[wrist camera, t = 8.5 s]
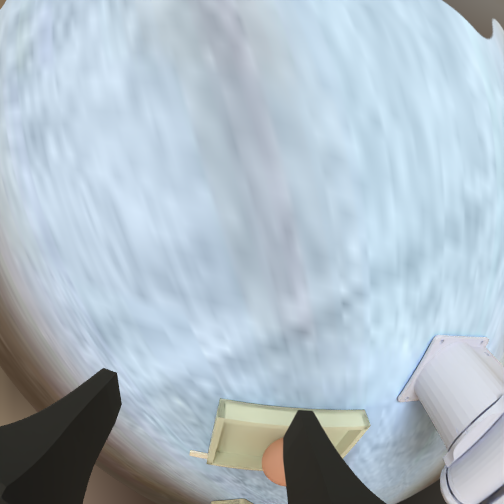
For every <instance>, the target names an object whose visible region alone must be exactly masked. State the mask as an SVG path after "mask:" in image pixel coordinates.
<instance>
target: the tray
mask: <svg viewBox="0 0 504 504" xmlns="http://www.w3.org/2000/svg"><path fill="white" fill-rule="evenodd" d="M298 410H309V411H313V412H314V414H315V415H316V417H317V419H318V421H319V422H320V424H321V426H322V428H323V429H324V431H325V433H326V434H327V436H328V438H329V439H330V441H331V442H332V444H333V445H334V447H335V448H336V450H337V451H338V453H339V454H340V456H341V457H342V459H343V458H344V457H345V455H346V454H347V453H348V452H349V451H350V450H351V449H352V448H353V446H354V445H355V444H356V443H357V442H358V441H359V439H360V438H361V437H362V436H363V434H364V433H365V432H366V431H367V429H368V428H369V427H370V426H371V425H370V423H369V420H368V417H367V415H366V412H365V410H321V409H301V408H288V407H277V406H268V405H260V404H252V403H245V402H238V401H232V400H226V399H221V398H220V401H219V405H218V410H217V414H216V419H215V423H214V428H213V432H212V437H211V441H210V446H209V451H208V458H207V464H210V465H216V466H222V467H229V468H237V469H246V470H258V471H263V469H262V457H263V454H264V452H265V450H266V449H267V447H268V446H269V445H270V444H272V443H273V442H274V441H276V440H278V439H280V438H283V437H284V435H285V433H286V431H287V429H288V428H289V426H290V424H291V422H292V420H293V418H294V417H295V415H296V413H297V411H298Z"/></svg>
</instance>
